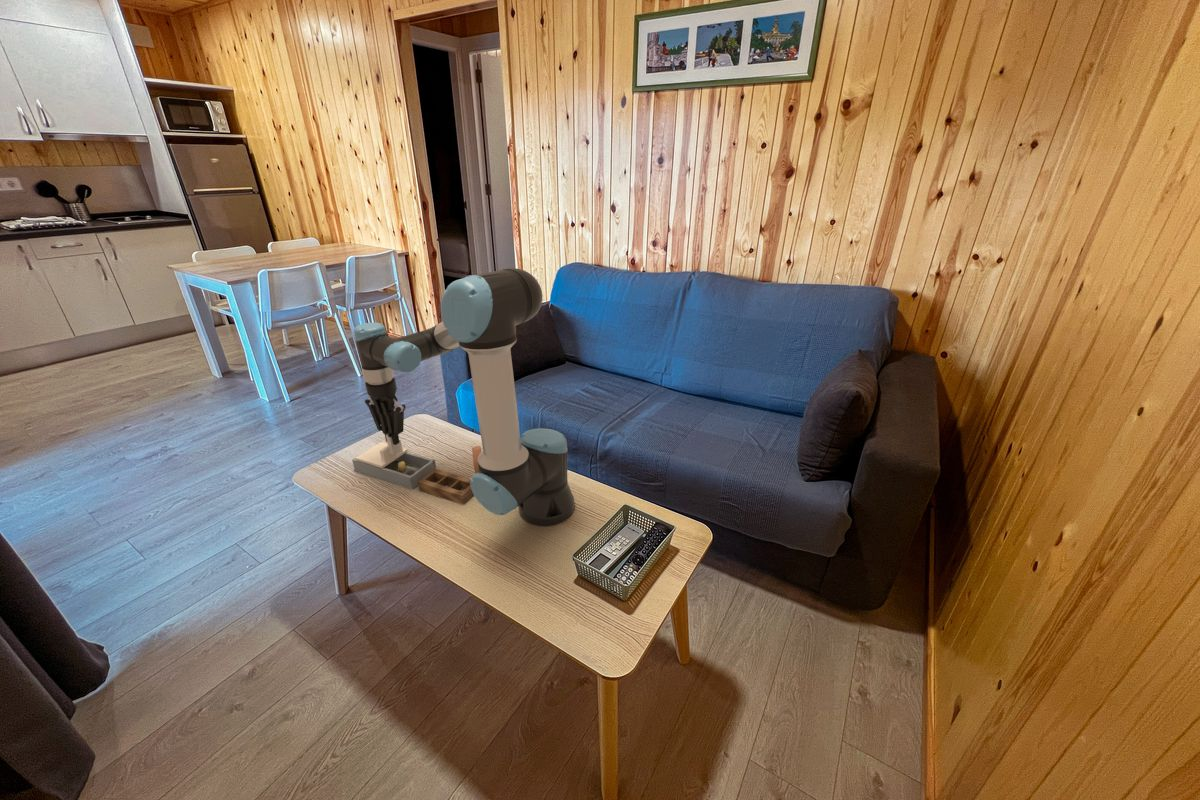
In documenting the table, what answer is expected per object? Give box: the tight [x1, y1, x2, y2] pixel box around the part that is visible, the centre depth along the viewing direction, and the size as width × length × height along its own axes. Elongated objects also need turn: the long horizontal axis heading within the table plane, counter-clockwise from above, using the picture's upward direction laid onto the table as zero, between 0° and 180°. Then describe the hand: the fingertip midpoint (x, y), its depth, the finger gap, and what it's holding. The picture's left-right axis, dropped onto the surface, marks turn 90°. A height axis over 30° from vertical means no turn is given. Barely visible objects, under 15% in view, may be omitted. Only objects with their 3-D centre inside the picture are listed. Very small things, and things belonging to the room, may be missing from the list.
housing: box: [351, 451, 437, 490], centre depth 140 cm, size 22×10×4 cm, turn 67°
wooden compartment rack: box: [417, 468, 474, 505], centre depth 132 cm, size 15×7×3 cm, turn 67°
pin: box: [471, 445, 483, 474], centre depth 136 cm, size 3×3×10 cm
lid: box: [354, 439, 408, 468], centre depth 139 cm, size 10×10×5 cm
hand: (395, 452), depth 137 cm, fingers closed
